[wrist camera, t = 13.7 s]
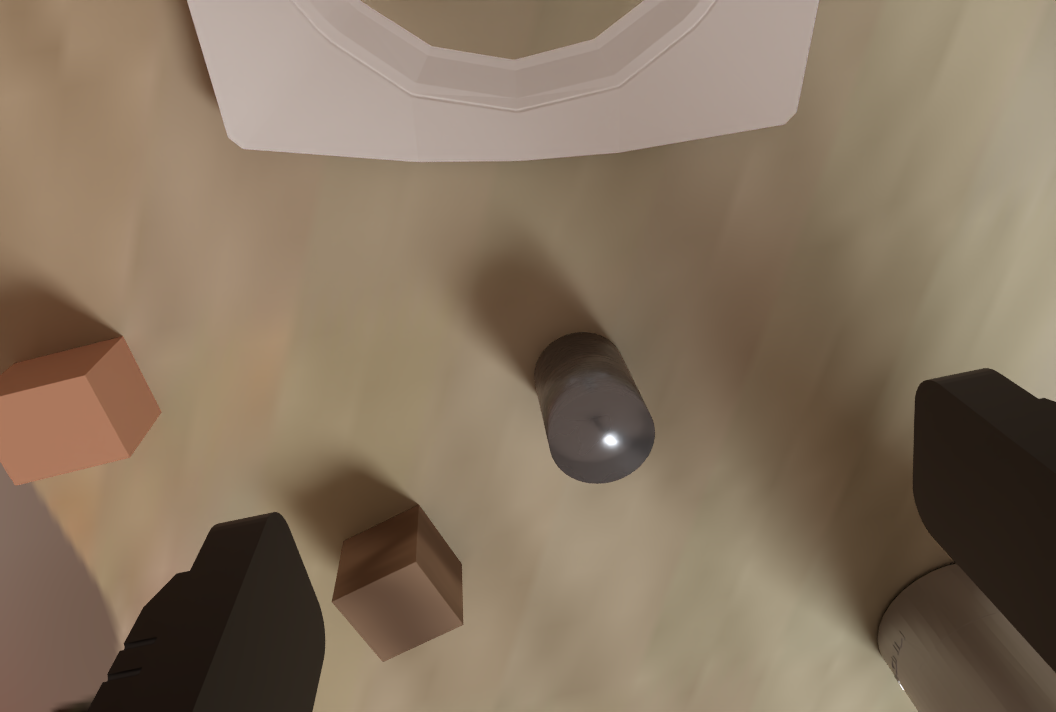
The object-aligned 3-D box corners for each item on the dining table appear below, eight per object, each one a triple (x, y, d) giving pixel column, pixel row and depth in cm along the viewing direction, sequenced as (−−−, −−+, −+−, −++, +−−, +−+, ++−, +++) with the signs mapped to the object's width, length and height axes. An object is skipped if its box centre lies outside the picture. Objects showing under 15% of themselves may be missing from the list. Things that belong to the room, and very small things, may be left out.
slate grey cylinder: (616, 323, 36) (647, 380, 30) (630, 402, 38) (661, 470, 32) (525, 344, 36) (539, 405, 30) (544, 423, 38) (560, 493, 32)
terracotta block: (123, 335, 34) (84, 375, 30) (162, 411, 36) (129, 457, 32) (15, 362, 34) (-36, 405, 30) (59, 436, 36) (15, 485, 32)
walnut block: (418, 503, 39) (415, 561, 35) (461, 562, 41) (463, 624, 37) (343, 540, 40) (331, 601, 36) (389, 597, 42) (382, 661, 38)
